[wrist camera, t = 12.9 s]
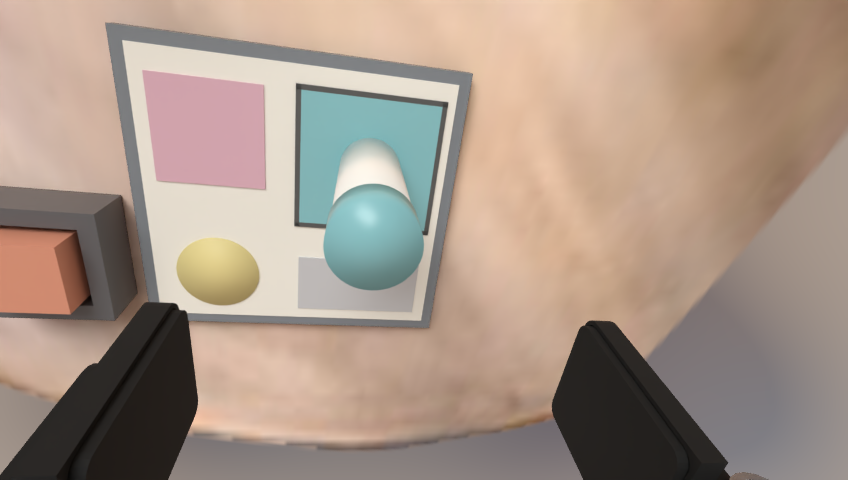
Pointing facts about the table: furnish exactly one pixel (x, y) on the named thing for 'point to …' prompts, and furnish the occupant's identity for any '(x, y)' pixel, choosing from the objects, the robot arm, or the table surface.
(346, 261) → the marker
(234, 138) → the picture board
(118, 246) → the button housing
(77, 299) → the button
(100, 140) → the table surface
